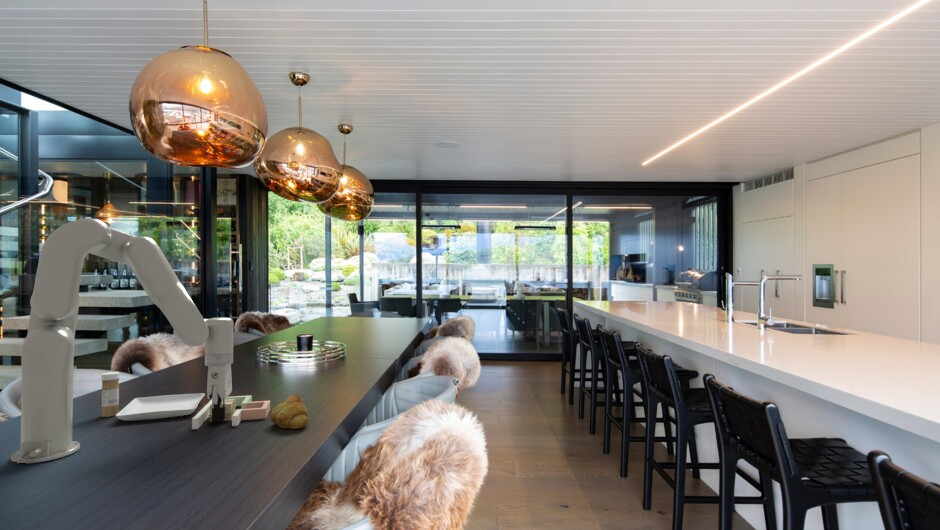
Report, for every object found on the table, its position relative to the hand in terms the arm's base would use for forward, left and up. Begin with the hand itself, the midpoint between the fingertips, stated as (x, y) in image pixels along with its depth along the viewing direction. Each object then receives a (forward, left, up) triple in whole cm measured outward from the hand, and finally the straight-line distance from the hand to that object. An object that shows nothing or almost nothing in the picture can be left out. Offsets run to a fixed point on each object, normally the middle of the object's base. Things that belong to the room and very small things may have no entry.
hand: (218, 420), depth 141 cm
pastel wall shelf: (+8, -3, -1) cm, 9 cm away
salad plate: (+19, +20, -2) cm, 27 cm away
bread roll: (-8, -21, -1) cm, 22 cm away
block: (+6, 0, -1) cm, 6 cm away
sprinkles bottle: (+19, +35, -1) cm, 40 cm away
